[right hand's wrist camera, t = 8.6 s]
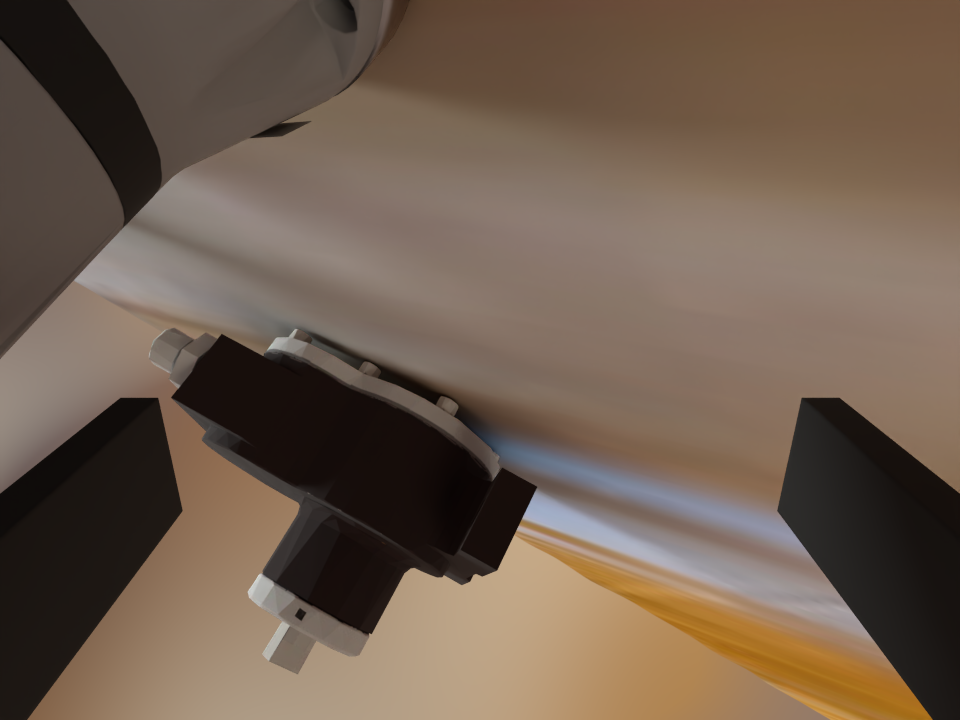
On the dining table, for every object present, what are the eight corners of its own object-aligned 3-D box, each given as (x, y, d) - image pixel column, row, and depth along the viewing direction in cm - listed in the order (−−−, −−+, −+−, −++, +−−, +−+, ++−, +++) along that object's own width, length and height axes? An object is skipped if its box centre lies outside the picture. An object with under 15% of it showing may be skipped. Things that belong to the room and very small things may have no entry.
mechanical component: (398, 711, 53) (106, 539, 55) (507, 494, 61) (248, 352, 63) (400, 771, 33) (-59, 498, 35) (561, 437, 41) (181, 232, 43)
